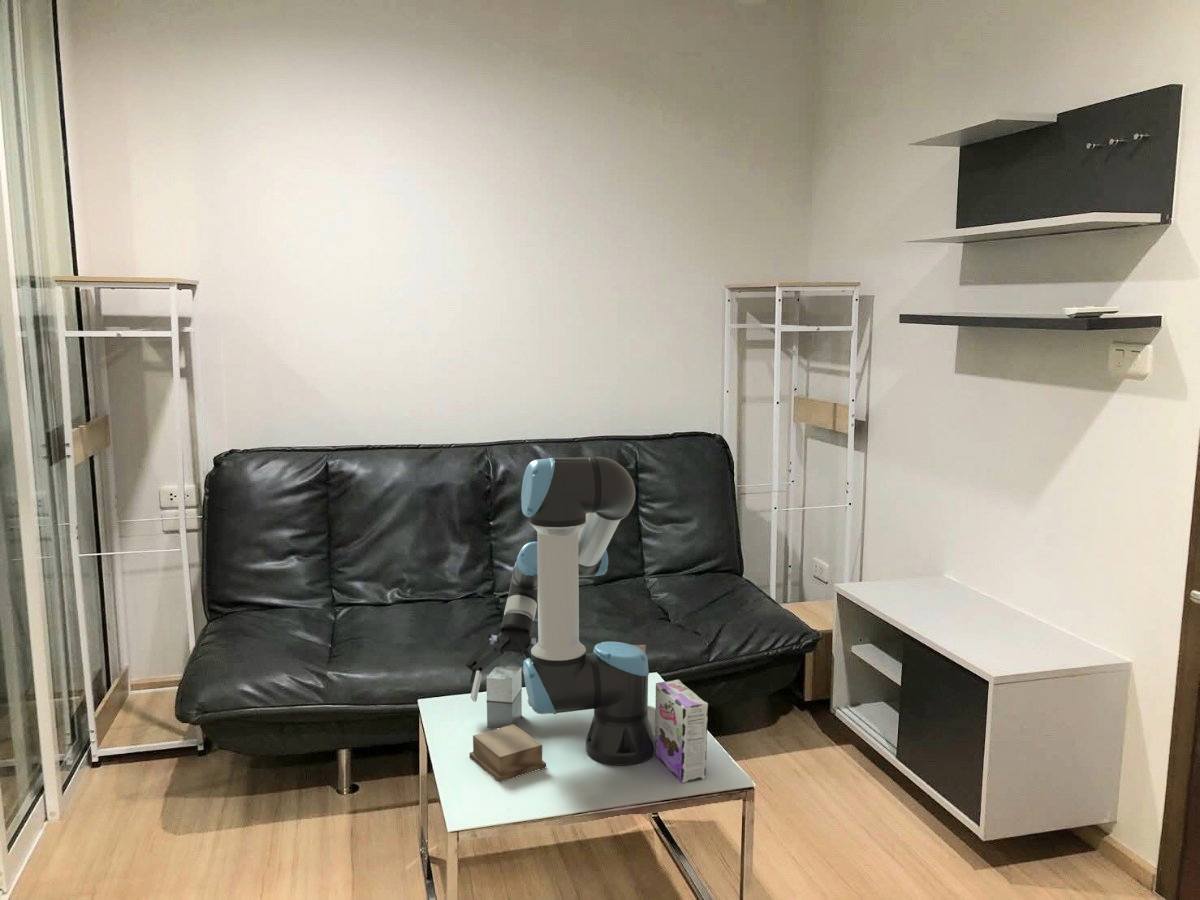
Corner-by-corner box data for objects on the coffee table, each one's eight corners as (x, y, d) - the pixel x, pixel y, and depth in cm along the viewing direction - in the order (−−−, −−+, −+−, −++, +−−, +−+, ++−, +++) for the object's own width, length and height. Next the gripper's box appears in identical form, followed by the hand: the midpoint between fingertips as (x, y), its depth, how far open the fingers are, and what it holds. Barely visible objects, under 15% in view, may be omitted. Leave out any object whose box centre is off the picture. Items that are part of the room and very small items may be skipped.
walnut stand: (515, 744, 211) (515, 722, 210) (546, 767, 200) (546, 745, 199) (469, 757, 205) (469, 735, 204) (498, 782, 194) (498, 759, 193)
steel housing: (522, 715, 226) (521, 666, 224) (512, 730, 218) (512, 679, 216) (497, 713, 227) (496, 665, 225) (486, 727, 219) (486, 677, 217)
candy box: (653, 754, 206) (654, 681, 204) (678, 750, 208) (679, 678, 206) (681, 783, 194) (682, 706, 191) (707, 779, 196) (709, 702, 193)
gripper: (571, 628, 233) (557, 712, 220) (473, 622, 237) (454, 703, 225) (566, 614, 227) (551, 699, 214) (465, 607, 231) (445, 690, 219)
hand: (501, 701), depth 219 cm, fingers open, 13 cm apart
